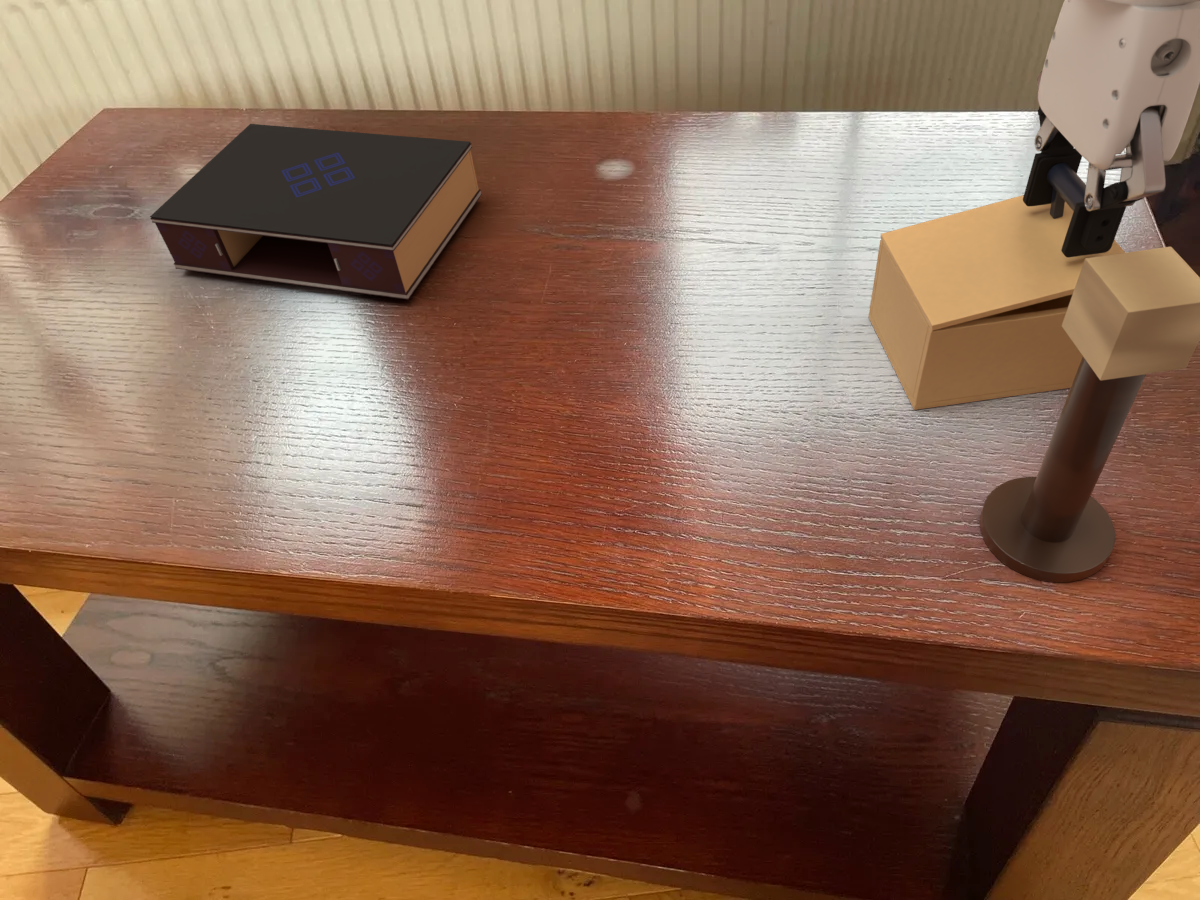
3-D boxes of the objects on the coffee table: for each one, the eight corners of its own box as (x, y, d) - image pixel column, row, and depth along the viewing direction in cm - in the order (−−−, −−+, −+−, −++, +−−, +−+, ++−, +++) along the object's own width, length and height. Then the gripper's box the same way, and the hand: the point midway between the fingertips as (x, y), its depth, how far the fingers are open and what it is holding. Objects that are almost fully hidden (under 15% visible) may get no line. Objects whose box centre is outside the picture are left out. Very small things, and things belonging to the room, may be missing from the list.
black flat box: (410, 307, 84) (391, 245, 79) (178, 275, 91) (148, 216, 86) (483, 201, 95) (470, 141, 90) (272, 180, 101) (250, 123, 97)
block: (1141, 314, 51) (1171, 245, 48) (1186, 369, 48) (1220, 299, 45) (1061, 326, 51) (1084, 258, 48) (1100, 381, 48) (1128, 312, 45)
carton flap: (1065, 188, 70) (1072, 134, 67) (1140, 276, 63) (1153, 220, 59) (880, 238, 72) (878, 188, 69) (931, 331, 64) (932, 278, 61)
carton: (1024, 295, 78) (1048, 216, 72) (1087, 385, 70) (1120, 305, 64) (868, 316, 78) (879, 239, 72) (913, 410, 70) (931, 331, 64)
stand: (1107, 496, 63) (1196, 308, 51) (1114, 593, 58) (1216, 409, 46) (981, 477, 65) (1039, 292, 53) (977, 569, 60) (1041, 387, 48)
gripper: (1311, 4, 47) (1180, 293, 60) (1141, -103, 59) (1063, 158, 72) (1164, 24, 47) (1065, 308, 60) (1023, -88, 59) (966, 171, 72)
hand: (1064, 224), depth 66 cm, fingers closed on carton flap, 5 cm apart
